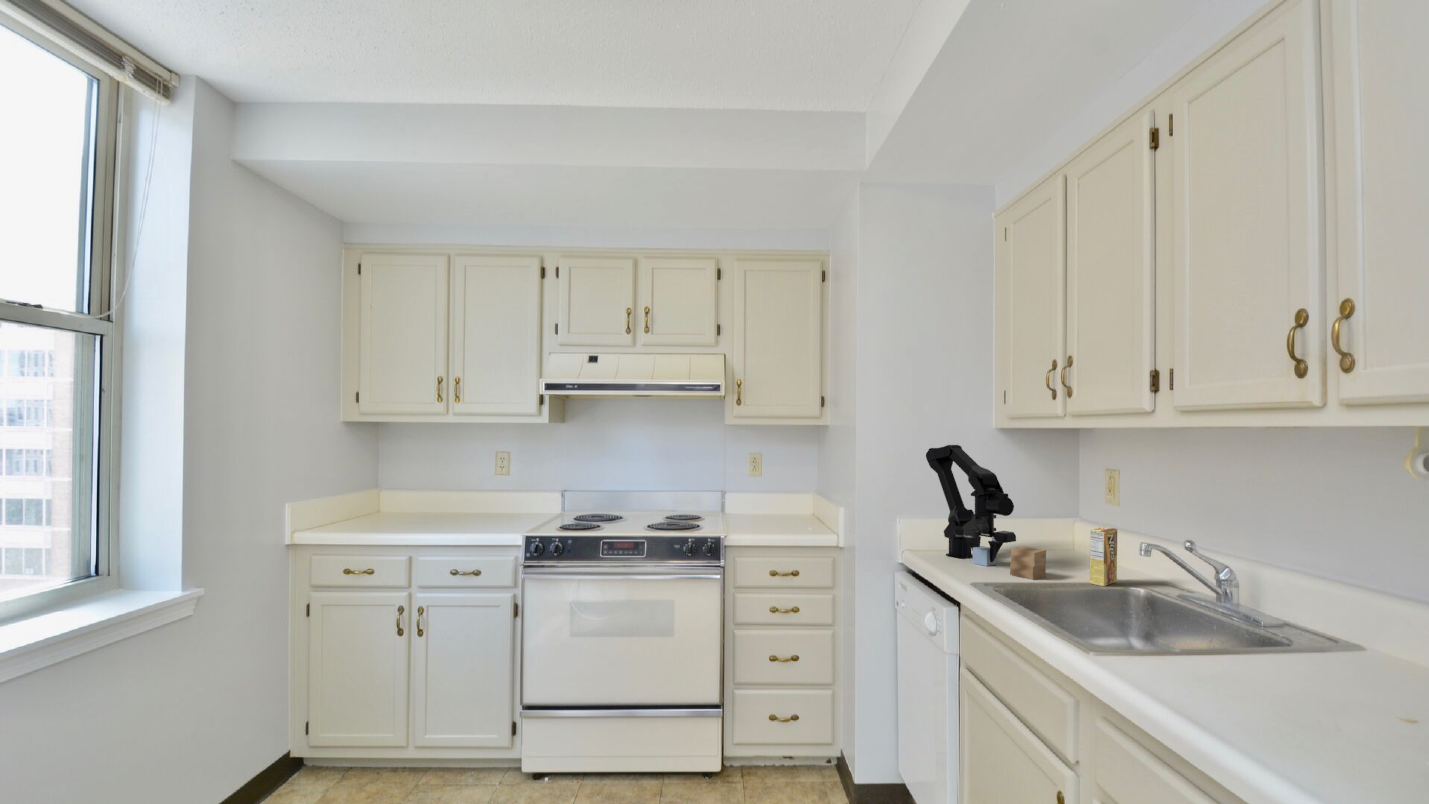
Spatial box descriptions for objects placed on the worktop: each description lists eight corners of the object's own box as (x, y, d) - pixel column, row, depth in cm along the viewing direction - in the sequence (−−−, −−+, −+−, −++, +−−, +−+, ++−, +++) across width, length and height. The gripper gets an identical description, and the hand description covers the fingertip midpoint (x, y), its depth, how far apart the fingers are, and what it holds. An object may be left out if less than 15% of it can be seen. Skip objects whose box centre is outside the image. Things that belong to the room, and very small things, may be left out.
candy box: (1102, 579, 201) (1102, 526, 201) (1118, 582, 197) (1117, 528, 198) (1089, 583, 195) (1089, 529, 195) (1105, 586, 192) (1105, 531, 192)
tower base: (1010, 575, 205) (1010, 562, 205) (1023, 572, 209) (1023, 559, 209) (1032, 580, 199) (1032, 566, 199) (1045, 577, 203) (1045, 563, 203)
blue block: (972, 563, 221) (972, 547, 221) (981, 561, 224) (981, 546, 224) (986, 566, 217) (986, 550, 217) (995, 564, 220) (995, 548, 220)
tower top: (1011, 562, 205) (1011, 549, 205) (1023, 559, 209) (1023, 546, 209) (1034, 566, 199) (1034, 552, 199) (1046, 563, 203) (1046, 550, 203)
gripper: (943, 510, 224) (943, 558, 223) (996, 517, 208) (996, 568, 208) (964, 507, 230) (964, 554, 230) (1016, 514, 215) (1016, 564, 215)
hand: (984, 560), depth 220 cm, fingers closed on blue block, 5 cm apart
